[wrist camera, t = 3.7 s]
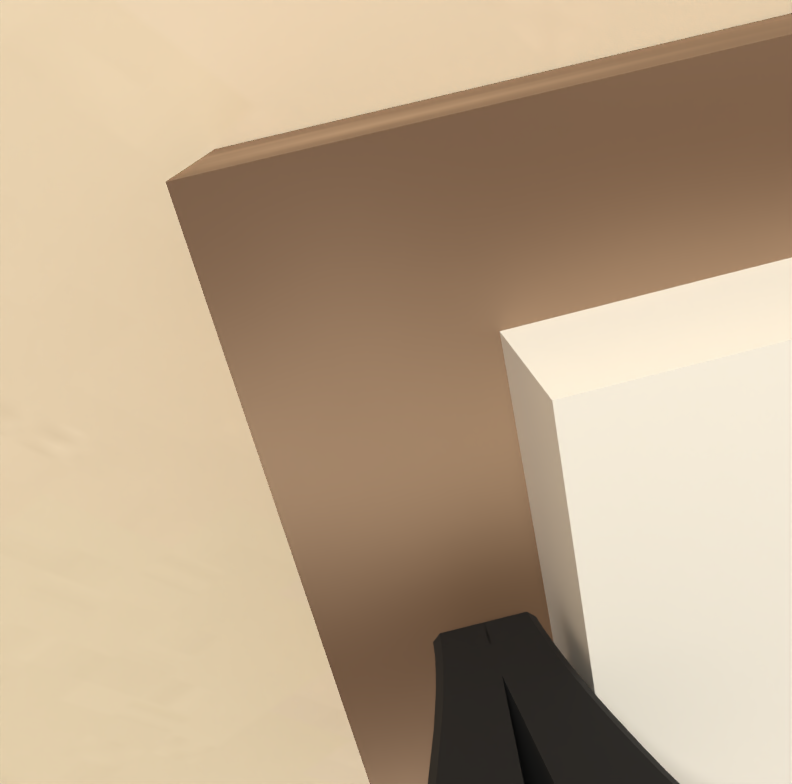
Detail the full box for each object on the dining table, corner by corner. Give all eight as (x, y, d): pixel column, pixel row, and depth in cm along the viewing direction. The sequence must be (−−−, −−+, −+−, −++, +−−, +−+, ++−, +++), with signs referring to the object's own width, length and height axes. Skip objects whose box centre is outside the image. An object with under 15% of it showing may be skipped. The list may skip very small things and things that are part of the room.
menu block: (920, 726, 12) (1028, 841, 10) (583, 814, 12) (632, 945, 10) (986, 208, 8) (1173, 242, 7) (499, 331, 8) (552, 400, 7)
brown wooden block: (848, 646, 17) (996, 801, 13) (400, 757, 17) (425, 945, 13) (897, -12, 11) (1184, -59, 7) (214, 149, 11) (166, 181, 7)
